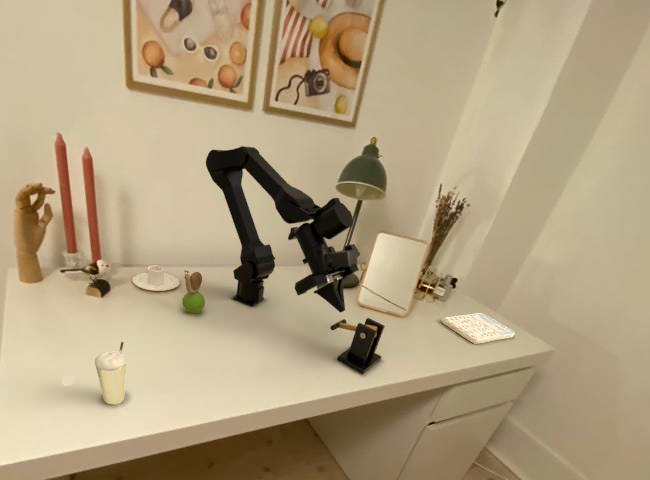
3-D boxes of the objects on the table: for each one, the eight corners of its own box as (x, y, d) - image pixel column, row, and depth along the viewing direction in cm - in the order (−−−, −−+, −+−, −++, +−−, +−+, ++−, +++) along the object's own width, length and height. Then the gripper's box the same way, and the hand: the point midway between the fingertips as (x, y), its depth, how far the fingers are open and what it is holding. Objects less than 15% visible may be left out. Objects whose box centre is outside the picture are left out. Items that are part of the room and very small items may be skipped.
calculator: (439, 321, 116) (442, 316, 115) (480, 316, 125) (482, 311, 124) (474, 345, 107) (477, 339, 106) (514, 337, 116) (518, 332, 115)
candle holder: (188, 286, 105) (188, 272, 102) (151, 297, 96) (150, 281, 94) (161, 271, 110) (161, 257, 108) (123, 279, 101) (122, 264, 99)
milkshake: (137, 393, 67) (134, 346, 61) (116, 411, 62) (111, 362, 57) (115, 384, 68) (110, 337, 62) (93, 401, 63) (86, 352, 58)
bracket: (336, 360, 87) (348, 323, 82) (355, 347, 94) (367, 313, 88) (362, 374, 84) (375, 337, 79) (380, 360, 91) (393, 325, 85)
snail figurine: (175, 313, 92) (175, 267, 85) (190, 304, 97) (192, 259, 90) (194, 320, 90) (196, 274, 84) (208, 311, 96) (211, 266, 89)
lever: (330, 332, 88) (330, 322, 87) (342, 325, 92) (342, 316, 91) (368, 341, 82) (369, 331, 81) (379, 334, 86) (380, 324, 85)
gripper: (317, 237, 74) (349, 310, 75) (363, 227, 87) (389, 289, 88) (280, 261, 81) (310, 327, 83) (327, 249, 95) (352, 306, 96)
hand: (342, 311), depth 87 cm, fingers closed
